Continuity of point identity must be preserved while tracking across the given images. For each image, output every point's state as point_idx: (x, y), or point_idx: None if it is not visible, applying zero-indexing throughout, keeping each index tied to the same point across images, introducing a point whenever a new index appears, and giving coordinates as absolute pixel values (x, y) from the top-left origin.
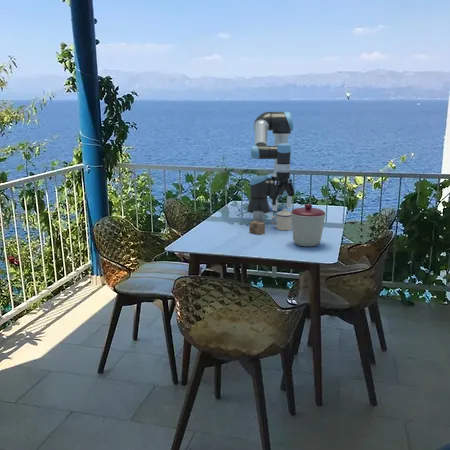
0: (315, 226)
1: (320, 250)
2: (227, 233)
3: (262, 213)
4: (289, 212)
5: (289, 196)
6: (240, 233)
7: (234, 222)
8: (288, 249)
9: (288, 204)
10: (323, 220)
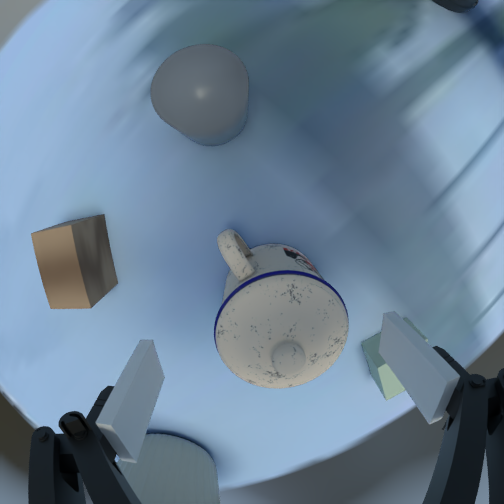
0: None
1: None
2: (6, 170)
3: (210, 129)
4: (310, 370)
5: (434, 407)
6: (34, 204)
7: (160, 2)
8: None
9: (393, 344)
10: None
